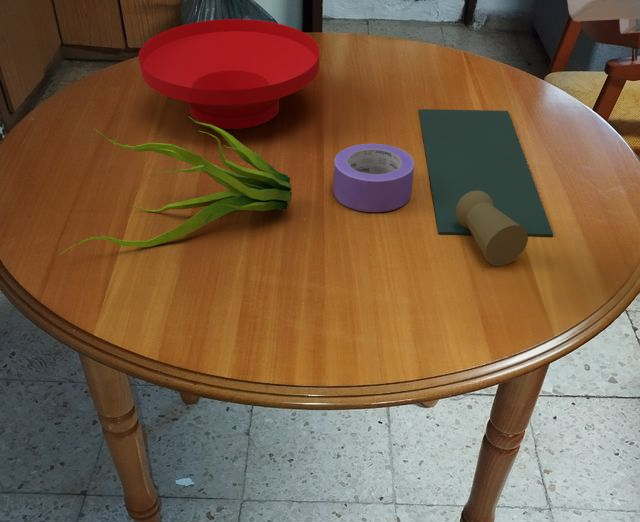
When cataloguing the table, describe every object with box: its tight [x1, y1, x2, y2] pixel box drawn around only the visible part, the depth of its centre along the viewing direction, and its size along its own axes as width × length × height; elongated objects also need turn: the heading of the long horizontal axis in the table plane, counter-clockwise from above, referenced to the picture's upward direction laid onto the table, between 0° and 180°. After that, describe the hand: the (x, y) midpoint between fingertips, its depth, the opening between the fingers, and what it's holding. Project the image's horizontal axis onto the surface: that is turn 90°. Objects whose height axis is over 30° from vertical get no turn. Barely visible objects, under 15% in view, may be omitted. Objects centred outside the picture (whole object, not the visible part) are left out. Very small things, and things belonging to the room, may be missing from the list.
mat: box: [418, 108, 554, 238], centre depth 108 cm, size 40×16×1 cm, turn 178°
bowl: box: [137, 18, 321, 130], centre depth 117 cm, size 30×30×10 cm
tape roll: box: [333, 143, 415, 213], centre depth 100 cm, size 12×12×5 cm
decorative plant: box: [58, 115, 293, 256], centre depth 89 cm, size 18×30×15 cm, turn 89°
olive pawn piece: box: [455, 191, 529, 267], centre depth 91 cm, size 6×6×11 cm
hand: (632, 26), depth 73 cm, fingers closed
